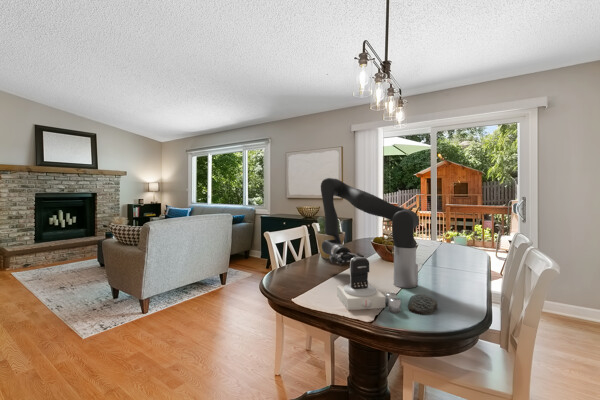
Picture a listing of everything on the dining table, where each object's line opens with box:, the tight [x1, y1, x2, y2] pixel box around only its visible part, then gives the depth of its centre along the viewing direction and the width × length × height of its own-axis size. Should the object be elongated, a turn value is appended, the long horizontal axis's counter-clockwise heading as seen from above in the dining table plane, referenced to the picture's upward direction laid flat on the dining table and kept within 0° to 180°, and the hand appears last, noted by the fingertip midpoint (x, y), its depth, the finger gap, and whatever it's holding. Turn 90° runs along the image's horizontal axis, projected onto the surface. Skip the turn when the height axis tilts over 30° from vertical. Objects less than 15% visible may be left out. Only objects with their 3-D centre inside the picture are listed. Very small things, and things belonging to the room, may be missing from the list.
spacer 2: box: [388, 297, 402, 315], centre depth 98 cm, size 4×4×4 cm
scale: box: [336, 283, 386, 311], centre depth 107 cm, size 14×14×5 cm
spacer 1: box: [384, 292, 398, 308], centre depth 103 cm, size 4×4×4 cm
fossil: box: [407, 293, 438, 316], centre depth 102 cm, size 10×13×4 cm
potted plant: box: [315, 216, 346, 260], centre depth 178 cm, size 18×19×25 cm
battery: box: [349, 256, 370, 289], centre depth 107 cm, size 7×4×11 cm, turn 102°
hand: (351, 262), depth 117 cm, fingers open, 8 cm apart
